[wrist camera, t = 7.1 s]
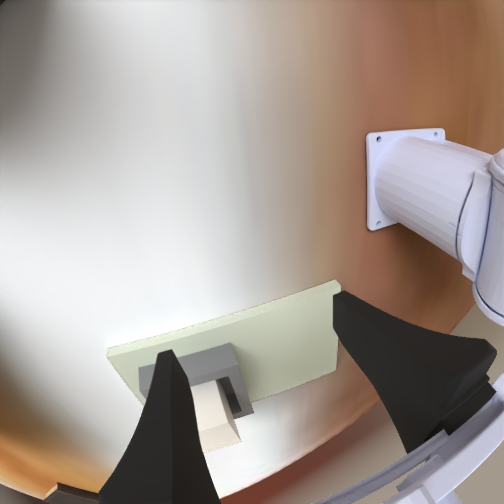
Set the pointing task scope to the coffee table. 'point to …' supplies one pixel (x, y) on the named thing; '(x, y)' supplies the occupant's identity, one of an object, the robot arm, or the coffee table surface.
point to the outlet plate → (244, 349)
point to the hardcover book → (70, 495)
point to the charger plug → (214, 416)
